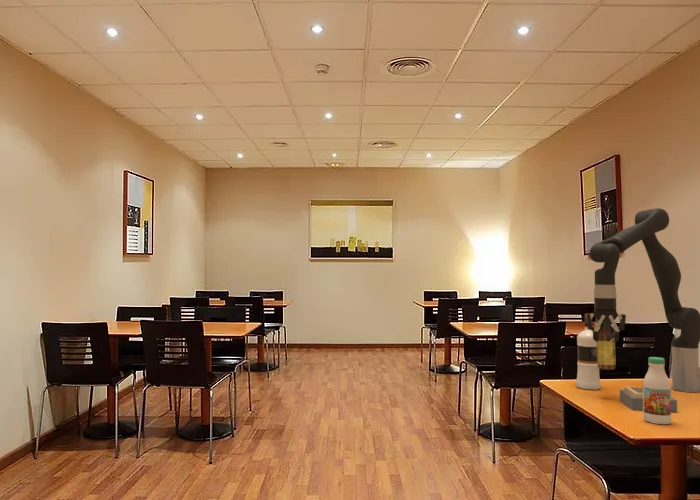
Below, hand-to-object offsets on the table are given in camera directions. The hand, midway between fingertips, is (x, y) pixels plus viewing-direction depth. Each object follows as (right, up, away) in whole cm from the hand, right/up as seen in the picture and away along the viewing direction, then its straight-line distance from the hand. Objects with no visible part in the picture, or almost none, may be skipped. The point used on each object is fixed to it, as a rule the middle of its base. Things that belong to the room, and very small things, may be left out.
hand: (605, 341), depth 205 cm
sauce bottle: (0, -10, 0) cm, 10 cm away
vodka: (+1, -22, +17) cm, 28 cm away
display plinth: (+9, -21, -13) cm, 26 cm away
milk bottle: (+1, -20, -33) cm, 38 cm away
